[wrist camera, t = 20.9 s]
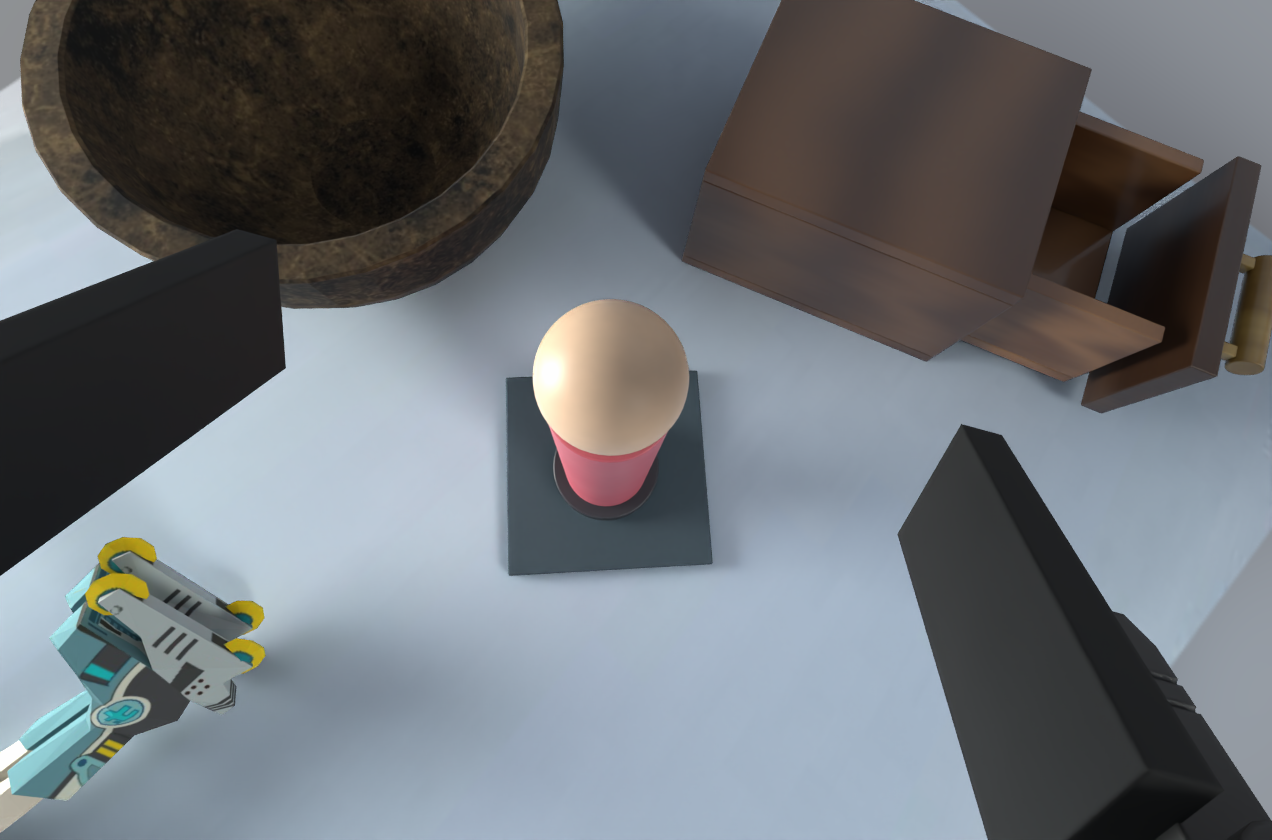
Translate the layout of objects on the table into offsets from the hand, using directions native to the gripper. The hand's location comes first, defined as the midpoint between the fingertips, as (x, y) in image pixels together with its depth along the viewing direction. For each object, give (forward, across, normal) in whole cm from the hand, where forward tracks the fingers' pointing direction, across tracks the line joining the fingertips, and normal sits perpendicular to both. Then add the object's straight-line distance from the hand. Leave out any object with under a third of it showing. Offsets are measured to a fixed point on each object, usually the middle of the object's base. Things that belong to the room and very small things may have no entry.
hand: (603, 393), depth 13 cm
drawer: (+27, +20, -2) cm, 34 cm away
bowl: (+25, -17, -5) cm, 31 cm away
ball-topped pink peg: (+16, 0, -13) cm, 21 cm away
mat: (+16, 0, -14) cm, 21 cm away
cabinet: (+29, +9, -1) cm, 30 cm away
